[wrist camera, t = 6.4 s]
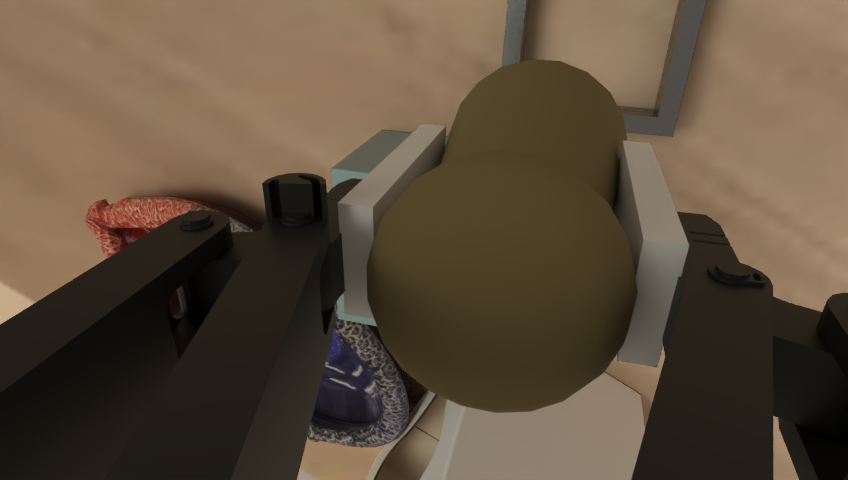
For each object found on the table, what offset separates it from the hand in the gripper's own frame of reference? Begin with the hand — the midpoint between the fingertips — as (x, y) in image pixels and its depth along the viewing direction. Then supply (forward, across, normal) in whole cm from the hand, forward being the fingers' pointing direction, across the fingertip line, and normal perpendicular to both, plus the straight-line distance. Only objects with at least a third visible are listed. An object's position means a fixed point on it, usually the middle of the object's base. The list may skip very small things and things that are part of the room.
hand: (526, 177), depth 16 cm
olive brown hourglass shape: (+3, 0, 0) cm, 3 cm away
